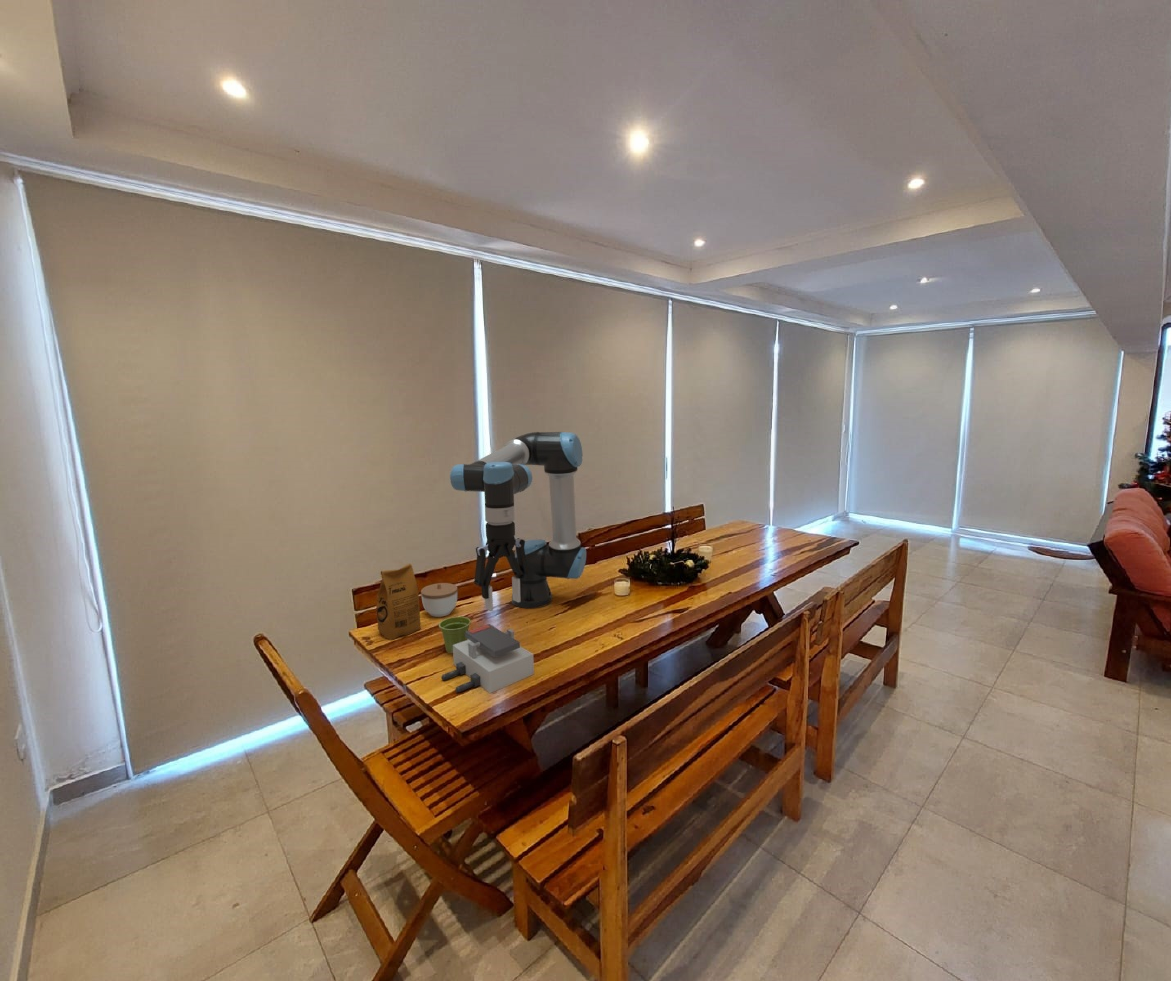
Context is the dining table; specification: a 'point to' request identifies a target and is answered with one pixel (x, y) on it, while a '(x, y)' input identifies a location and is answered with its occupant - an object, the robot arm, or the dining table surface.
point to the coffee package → (398, 603)
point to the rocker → (492, 640)
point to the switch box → (490, 666)
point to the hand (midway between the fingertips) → (503, 604)
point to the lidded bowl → (439, 599)
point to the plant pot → (454, 631)
